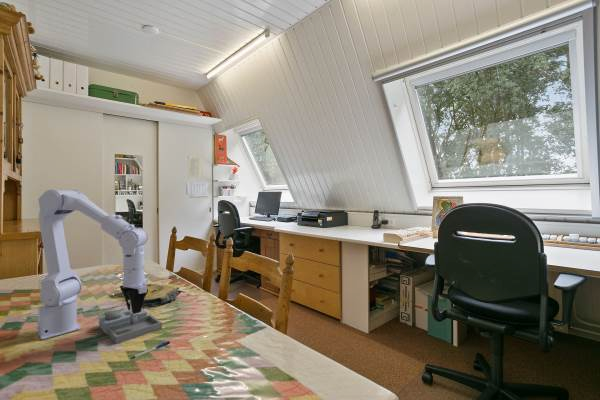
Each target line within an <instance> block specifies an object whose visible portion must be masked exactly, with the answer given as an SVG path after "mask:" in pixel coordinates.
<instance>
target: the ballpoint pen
mask: <svg viewBox="0 0 600 400" xmlns="http://www.w3.org/2000/svg"><path fill="white" fill-rule="evenodd" d="M170 344H171V341H170V340H168V341H165V342H162V343H160V344H158V345H157V346H155V347H153V348H150V349H147V350H145V351H142V352H140V353H138V354H135V355H133V356H132V357H130V359H131V360H132V359H136V358H138V357H141V356H143V355H145V354H148V353H151V352H152V351H155V350H157V349H160V348H162V347H163V348H164V347H165V346H167V345H170Z"/></svg>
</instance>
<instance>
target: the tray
mask: <svg viewBox="0 0 600 400" xmlns="http://www.w3.org/2000/svg"><path fill="white" fill-rule="evenodd" d="M162 329H163V322H162V321H161V320H159V319H158V318H156V317H155V316H154V315H152V314H148V315H147V316H144V317H141V318H139V323H138V324H136V325H130V321H127V322H123V323H120V324H116V325H113V326H109V327H106V333H105V334H106V335H107V336H108V337H109V338H110V339H111V341H112V342H114V344H116V345H117V344H120V343H122V342H126V341H129V340H132V339H135V338H138V337H141V336H144V335H147V334H150V333H154V332H156V331H159V330H162Z"/></svg>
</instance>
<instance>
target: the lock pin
mask: <svg viewBox="0 0 600 400" xmlns="http://www.w3.org/2000/svg"><path fill="white" fill-rule="evenodd" d="M128 303H129V304H130V325H136V324H138V323H139V313H135V314H133V312H132V308H131V302H130V299H128Z"/></svg>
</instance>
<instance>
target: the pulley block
mask: <svg viewBox="0 0 600 400" xmlns="http://www.w3.org/2000/svg"><path fill="white" fill-rule="evenodd" d="M145 285H146V286H147V289H148V293H147V294H146V296H145V298H144V301H143V305H142V307H145V308H146V307H159V306H161V305H163V304H165V303H166V302H168V301H169V302H170V301H172V300H174V299H176V297H177V296H178V295H180V294H182V293H184V294H185V293H186V291H183V290H180V287H177V288H176V287H174V286H173V285H169V284H153V283H145ZM123 287H124V286H123V284H122V285H119V288H120V289H121V288H123Z"/></svg>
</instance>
